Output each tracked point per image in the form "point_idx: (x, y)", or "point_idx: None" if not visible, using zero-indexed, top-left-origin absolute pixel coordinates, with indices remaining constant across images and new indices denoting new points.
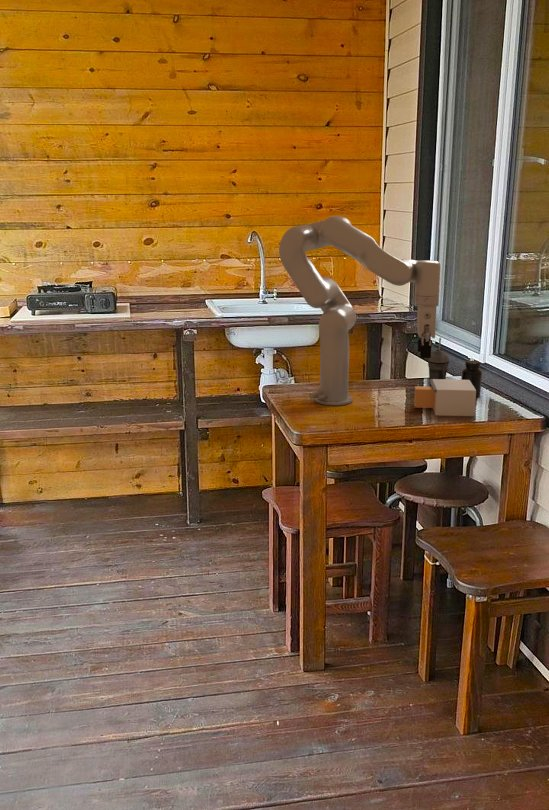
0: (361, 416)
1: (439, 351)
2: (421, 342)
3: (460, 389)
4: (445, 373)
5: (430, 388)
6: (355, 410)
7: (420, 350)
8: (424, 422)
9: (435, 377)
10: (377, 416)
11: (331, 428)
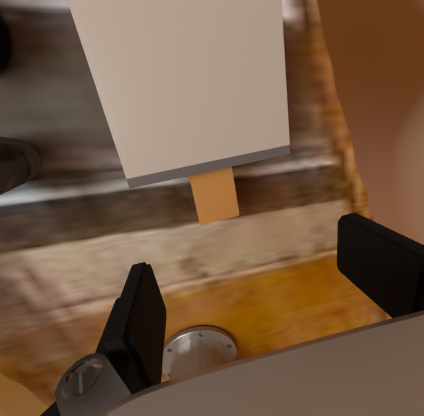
0: (294, 285)
1: None
2: (152, 358)
3: (272, 45)
4: None
5: (217, 172)
6: (255, 304)
7: (161, 305)
8: (320, 161)
9: (1, 174)
10: (289, 260)
11: (368, 307)
